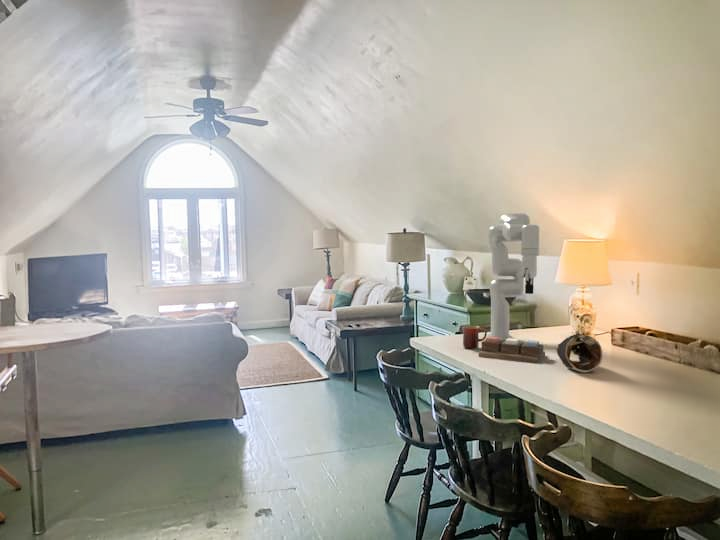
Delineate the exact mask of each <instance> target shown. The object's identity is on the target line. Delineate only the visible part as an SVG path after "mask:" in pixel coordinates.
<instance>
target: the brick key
mask: <svg viewBox="0 0 720 540" xmlns="http://www.w3.org/2000/svg"><path fill="white" fill-rule="evenodd" d="M485 340H486V342H492V343H498V342H500V337H491V336H489V337H488V336H486V338H485Z"/></svg>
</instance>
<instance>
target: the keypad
mask: <svg viewBox="0 0 720 540" xmlns="http://www.w3.org/2000/svg"><path fill="white" fill-rule="evenodd" d="M478 357H480V358H489V359H498V360H508V361H516V362H525V363H530V364H531V363H534V364H538V363H539V362H540V361H541V360H542V359H544V358H545V357H546V351H544V344H543V343H542V344H541V343H539V346H538V347H531V346H525V343H524V342H521V341H519V344H518V345H512V344H505V340H500V342H498V343H492V342H486V339H484V340H483V341H481V350H480V351H478Z"/></svg>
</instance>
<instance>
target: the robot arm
mask: <svg viewBox="0 0 720 540" xmlns="http://www.w3.org/2000/svg"><path fill="white" fill-rule="evenodd" d="M530 221H531V219H530V217H529V216H528V215H527V214H526V213H521V212H520V213H512V212H510V213H505V214H503V215H501V216H500V218H499V225H492V226H491V227H490V228H489V229H488V232H487V239H488V243H489V246H490V249H491V270H492V274H493V276H496V277H512V278H497V279H494V280H491V281H490V283H489V294H490V334H488V335H487V337H489V336H491V337H500V340H502V341H505V340H506V339H508V338H512V339H513V336H512V335H510V308H511V307H510V303H509V302H508V301H507V299H506V298H519V297H522V296H523V294H524V293H525V294H526V295H528V294H529V295H532V294H534V281H535V279H534V278H536V277H537V273H538V272H537V270H538V265H537V263H538V261H537V260H538V258H537V257H538V256H539V255H540V227H539V225H538V224H530V223H531V222H530ZM505 242H510V243H512V242H513V243H514V242H515V243H516V242H520V246H521V247H520V249H521V250H520V252H521V254H520V256H521V257H522V258H521V259H519V258H509V249H508V247H507V246H506V243H505ZM524 283H525V286H524Z"/></svg>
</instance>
